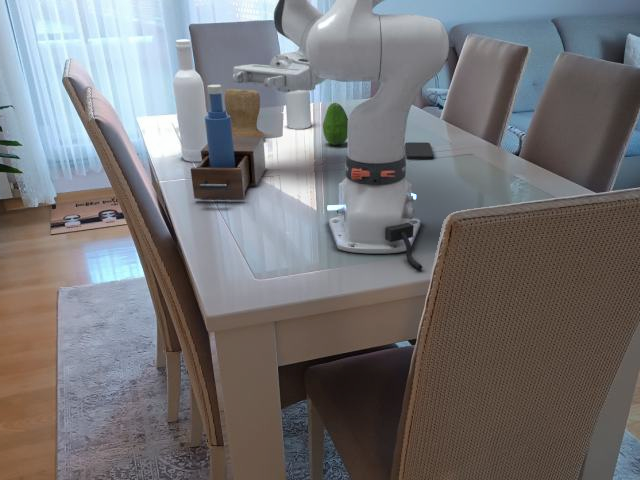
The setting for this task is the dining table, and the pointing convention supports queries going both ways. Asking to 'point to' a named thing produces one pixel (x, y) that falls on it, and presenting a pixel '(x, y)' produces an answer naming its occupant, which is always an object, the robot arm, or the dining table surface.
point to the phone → (418, 150)
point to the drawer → (221, 179)
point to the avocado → (335, 124)
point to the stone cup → (243, 111)
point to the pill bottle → (298, 109)
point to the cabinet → (254, 149)
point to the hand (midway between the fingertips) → (250, 81)
